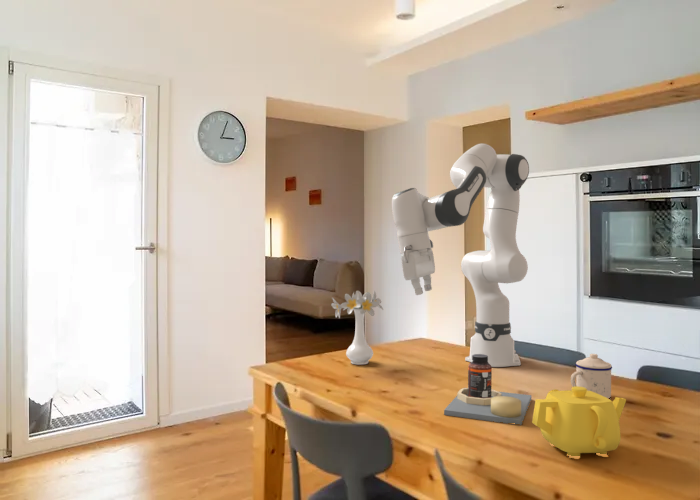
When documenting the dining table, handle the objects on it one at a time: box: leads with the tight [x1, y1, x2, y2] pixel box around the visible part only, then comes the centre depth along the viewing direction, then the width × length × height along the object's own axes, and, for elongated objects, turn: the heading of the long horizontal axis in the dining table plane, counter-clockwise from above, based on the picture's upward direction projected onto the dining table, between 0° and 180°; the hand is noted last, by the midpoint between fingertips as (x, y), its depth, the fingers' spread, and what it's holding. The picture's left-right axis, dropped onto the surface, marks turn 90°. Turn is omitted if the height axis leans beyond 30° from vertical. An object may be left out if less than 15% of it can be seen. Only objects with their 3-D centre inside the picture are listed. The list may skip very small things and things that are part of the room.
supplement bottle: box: [467, 354, 493, 398], centre depth 141 cm, size 6×6×11 cm
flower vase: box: [330, 290, 384, 366], centre depth 187 cm, size 13×18×25 cm
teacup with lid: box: [570, 353, 613, 399], centre depth 147 cm, size 12×9×12 cm
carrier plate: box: [443, 387, 532, 426], centre depth 138 cm, size 22×18×4 cm
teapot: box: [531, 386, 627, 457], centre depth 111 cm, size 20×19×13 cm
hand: (424, 292), depth 154 cm, fingers open, 8 cm apart
